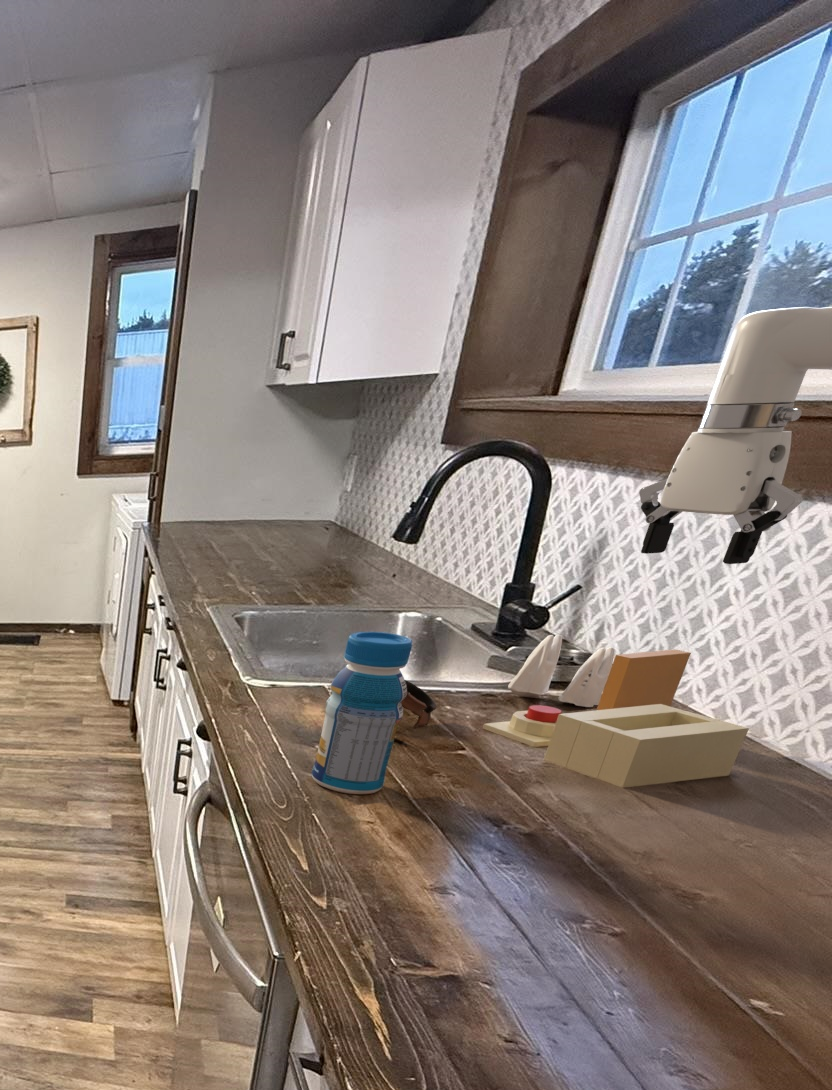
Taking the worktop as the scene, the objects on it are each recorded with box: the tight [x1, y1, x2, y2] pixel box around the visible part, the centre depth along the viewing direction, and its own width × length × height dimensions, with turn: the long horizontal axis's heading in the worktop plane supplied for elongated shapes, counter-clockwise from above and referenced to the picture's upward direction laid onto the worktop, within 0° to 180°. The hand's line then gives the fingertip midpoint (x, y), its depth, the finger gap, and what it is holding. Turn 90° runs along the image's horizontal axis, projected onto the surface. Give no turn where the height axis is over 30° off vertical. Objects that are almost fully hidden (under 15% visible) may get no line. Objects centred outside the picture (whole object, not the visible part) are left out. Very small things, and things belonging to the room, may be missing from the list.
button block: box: [482, 710, 556, 748], centre depth 120 cm, size 10×8×4 cm
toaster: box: [543, 704, 750, 788], centre depth 107 cm, size 16×10×8 cm, turn 99°
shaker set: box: [507, 633, 615, 708], centre depth 135 cm, size 12×4×11 cm, turn 52°
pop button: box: [526, 704, 563, 723], centre depth 119 cm, size 4×4×2 cm
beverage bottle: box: [311, 631, 413, 795], centre depth 106 cm, size 8×8×20 cm
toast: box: [596, 648, 692, 710], centre depth 118 cm, size 10×2×13 cm, turn 99°
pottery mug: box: [401, 679, 437, 728], centre depth 128 cm, size 12×10×8 cm
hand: (691, 557), depth 110 cm, fingers open, 9 cm apart
